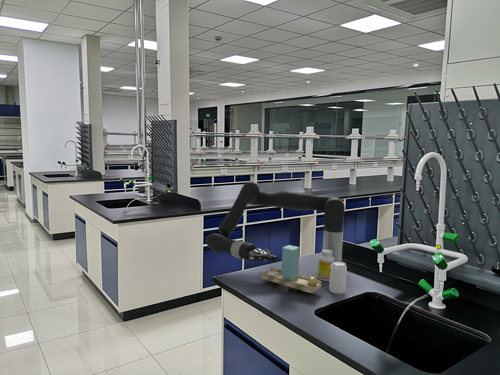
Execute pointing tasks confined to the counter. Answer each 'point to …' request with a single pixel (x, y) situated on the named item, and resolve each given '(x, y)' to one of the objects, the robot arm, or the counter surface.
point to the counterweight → (312, 281)
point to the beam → (298, 283)
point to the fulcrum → (286, 289)
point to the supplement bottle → (325, 265)
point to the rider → (290, 262)
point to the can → (338, 277)
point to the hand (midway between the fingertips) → (275, 258)
